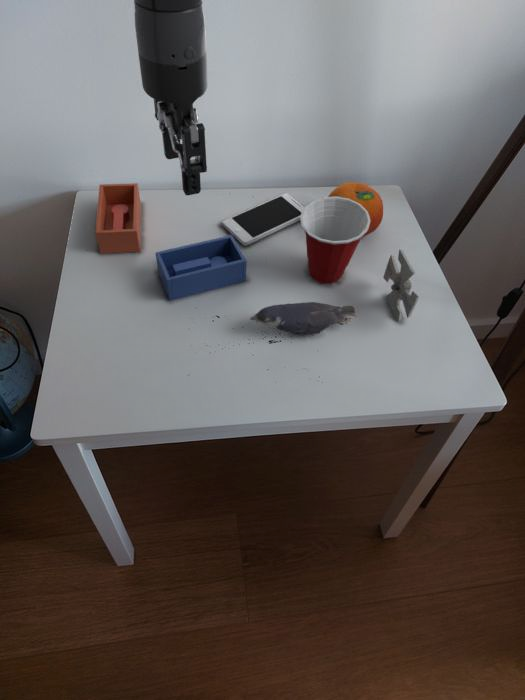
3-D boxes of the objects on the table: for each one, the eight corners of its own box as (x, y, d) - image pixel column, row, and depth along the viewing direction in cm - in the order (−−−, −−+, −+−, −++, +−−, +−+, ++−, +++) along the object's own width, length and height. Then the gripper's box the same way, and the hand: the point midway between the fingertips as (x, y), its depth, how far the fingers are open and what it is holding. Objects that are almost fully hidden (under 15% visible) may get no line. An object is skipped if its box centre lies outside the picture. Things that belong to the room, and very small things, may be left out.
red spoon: (129, 244, 89) (126, 232, 86) (111, 245, 88) (108, 232, 86) (130, 211, 94) (127, 199, 92) (113, 212, 94) (110, 199, 91)
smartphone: (221, 224, 94) (221, 220, 93) (286, 196, 100) (286, 192, 99) (244, 246, 91) (244, 242, 90) (309, 215, 97) (310, 211, 96)
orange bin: (140, 251, 89) (136, 231, 85) (100, 253, 88) (95, 232, 84) (140, 204, 96) (137, 183, 93) (104, 205, 96) (99, 184, 92)
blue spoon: (177, 286, 83) (176, 274, 81) (172, 274, 85) (171, 261, 83) (229, 274, 86) (229, 261, 83) (223, 262, 87) (223, 249, 85)
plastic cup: (284, 256, 90) (291, 199, 80) (341, 247, 92) (354, 190, 83) (304, 300, 84) (314, 244, 74) (364, 289, 86) (382, 234, 76)
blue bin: (169, 300, 82) (167, 280, 78) (158, 273, 86) (155, 252, 82) (245, 281, 86) (246, 260, 82) (231, 255, 89) (232, 234, 86)
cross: (411, 330, 81) (431, 286, 73) (395, 332, 81) (414, 288, 73) (387, 284, 87) (403, 238, 79) (373, 286, 87) (387, 240, 79)
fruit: (310, 223, 96) (316, 187, 89) (348, 203, 100) (356, 167, 94) (350, 255, 91) (360, 218, 85) (389, 232, 95) (400, 196, 89)
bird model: (356, 335, 80) (362, 314, 76) (251, 344, 78) (252, 323, 74) (349, 314, 83) (355, 293, 79) (247, 321, 80) (248, 300, 76)
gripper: (122, 23, 59) (141, 151, 72) (156, 80, 51) (170, 212, 64) (185, 16, 61) (192, 142, 74) (226, 71, 53) (226, 200, 66)
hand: (182, 174), depth 69 cm, fingers open, 8 cm apart
